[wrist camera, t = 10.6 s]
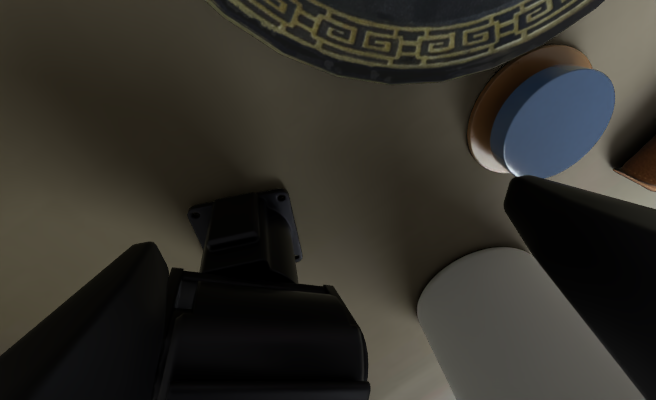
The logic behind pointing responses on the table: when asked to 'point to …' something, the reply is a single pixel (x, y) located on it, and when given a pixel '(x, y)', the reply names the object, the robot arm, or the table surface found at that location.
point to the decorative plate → (403, 33)
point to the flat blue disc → (552, 120)
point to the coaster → (502, 89)
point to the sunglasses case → (642, 166)
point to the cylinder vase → (514, 334)
